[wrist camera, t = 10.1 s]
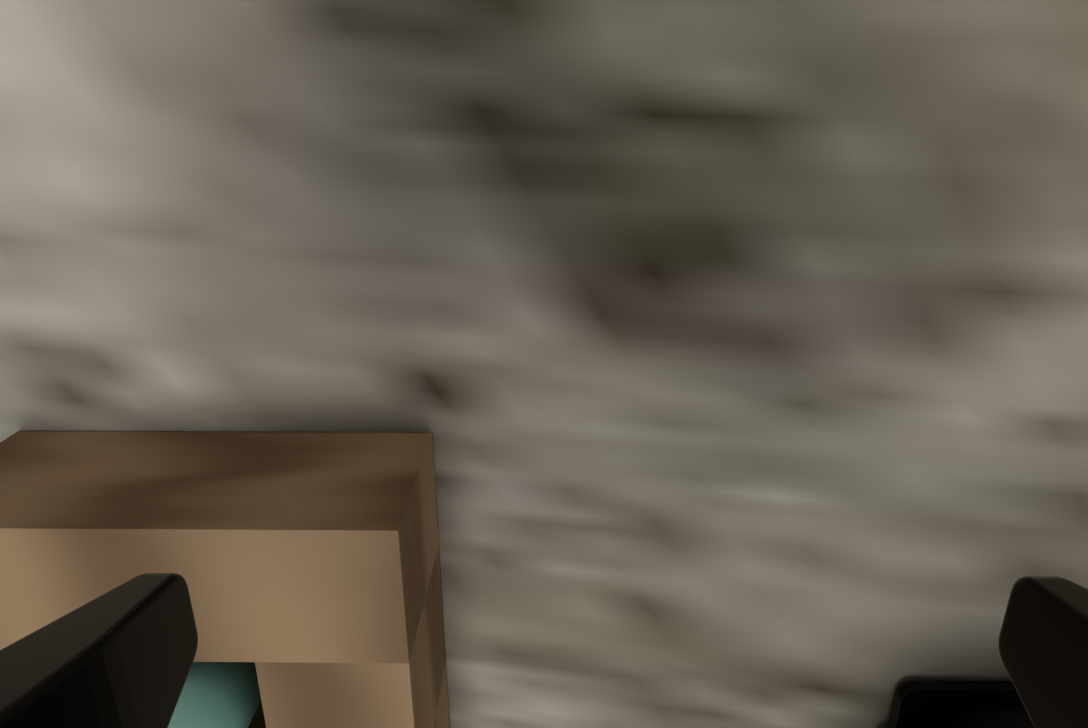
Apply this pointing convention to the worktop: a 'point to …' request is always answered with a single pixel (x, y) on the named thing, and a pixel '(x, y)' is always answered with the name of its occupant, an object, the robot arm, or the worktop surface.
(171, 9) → the worktop surface
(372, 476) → the socket block
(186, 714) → the peg
